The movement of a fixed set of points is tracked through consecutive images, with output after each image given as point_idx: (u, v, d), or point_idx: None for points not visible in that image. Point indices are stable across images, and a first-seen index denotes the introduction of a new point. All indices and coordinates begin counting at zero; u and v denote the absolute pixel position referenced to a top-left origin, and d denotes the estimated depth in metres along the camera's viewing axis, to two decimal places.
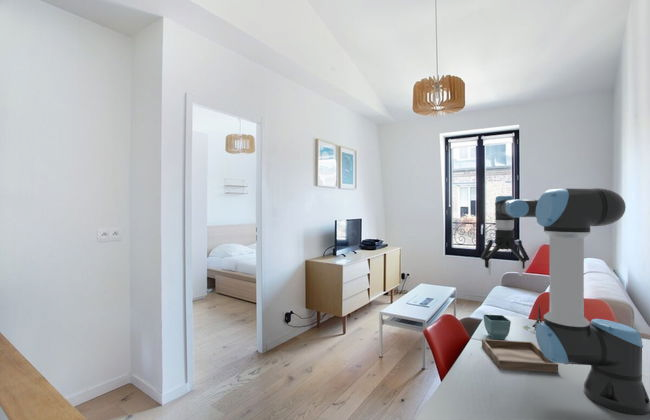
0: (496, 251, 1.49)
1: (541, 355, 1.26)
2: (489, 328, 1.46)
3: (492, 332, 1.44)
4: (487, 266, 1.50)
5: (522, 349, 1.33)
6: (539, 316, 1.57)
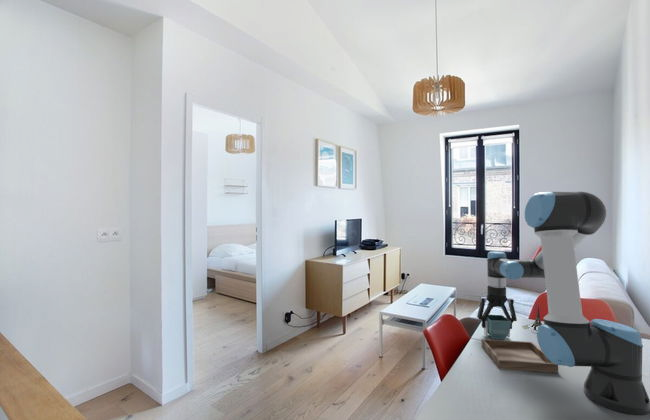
0: (490, 309, 1.47)
1: (541, 355, 1.26)
2: (489, 328, 1.46)
3: (492, 332, 1.44)
4: (484, 326, 1.48)
5: (522, 349, 1.33)
6: (538, 316, 1.57)
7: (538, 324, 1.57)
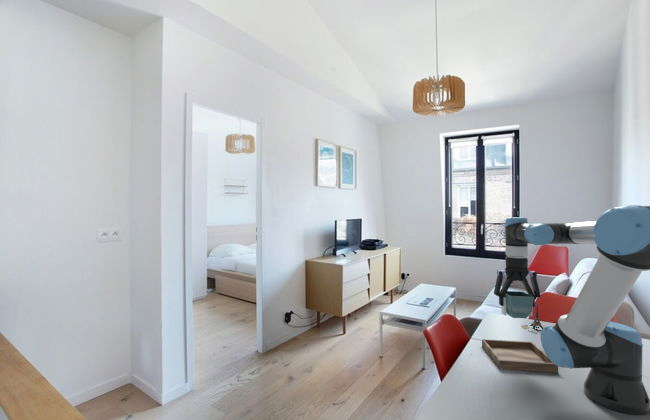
0: (510, 284, 1.26)
1: (541, 355, 1.26)
2: (508, 305, 1.25)
3: (512, 310, 1.23)
4: (502, 304, 1.27)
5: (522, 349, 1.33)
6: (537, 315, 1.58)
7: (537, 324, 1.57)
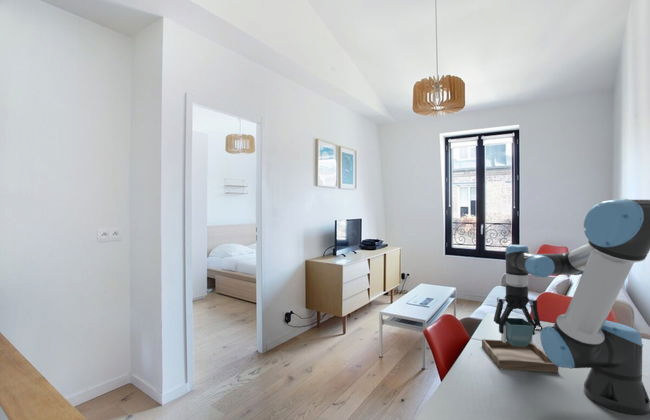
0: (510, 312, 1.26)
1: (541, 355, 1.26)
2: (508, 334, 1.25)
3: (512, 338, 1.23)
4: (502, 332, 1.27)
5: (522, 349, 1.33)
6: None
7: None
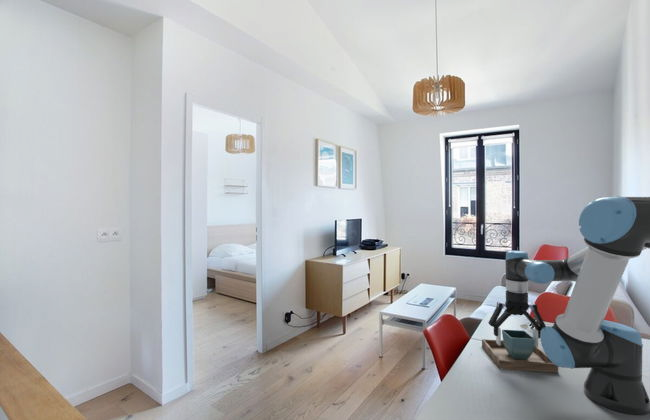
0: (507, 317, 1.26)
1: (541, 355, 1.26)
2: (509, 346, 1.25)
3: (513, 351, 1.23)
4: (496, 334, 1.27)
5: None
6: None
7: None
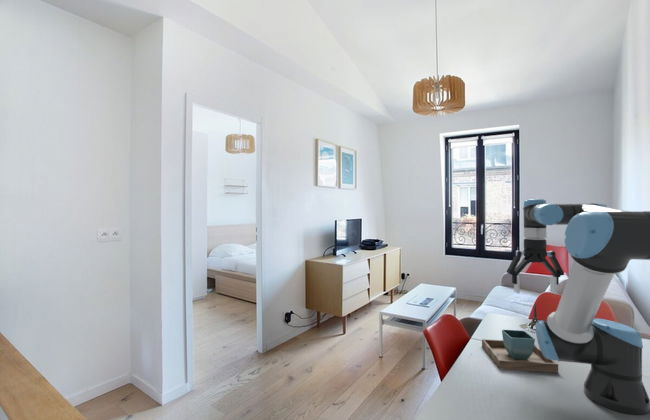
0: (526, 264, 1.27)
1: (541, 355, 1.26)
2: (509, 346, 1.25)
3: (513, 351, 1.23)
4: (515, 282, 1.27)
5: None
6: (535, 315, 1.59)
7: (535, 323, 1.58)
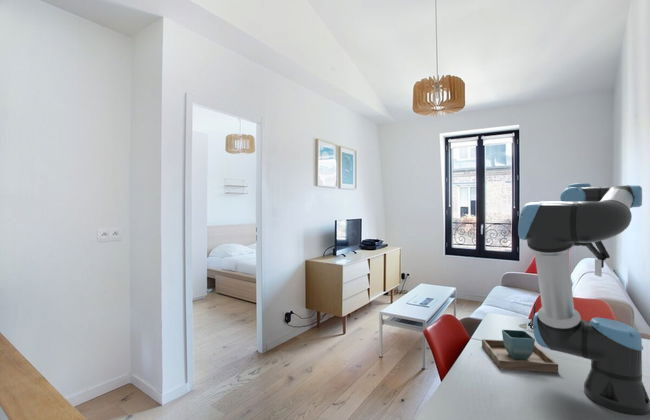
0: None
1: (541, 355, 1.26)
2: (509, 346, 1.25)
3: (513, 351, 1.23)
4: None
5: None
6: (534, 314, 1.59)
7: None
